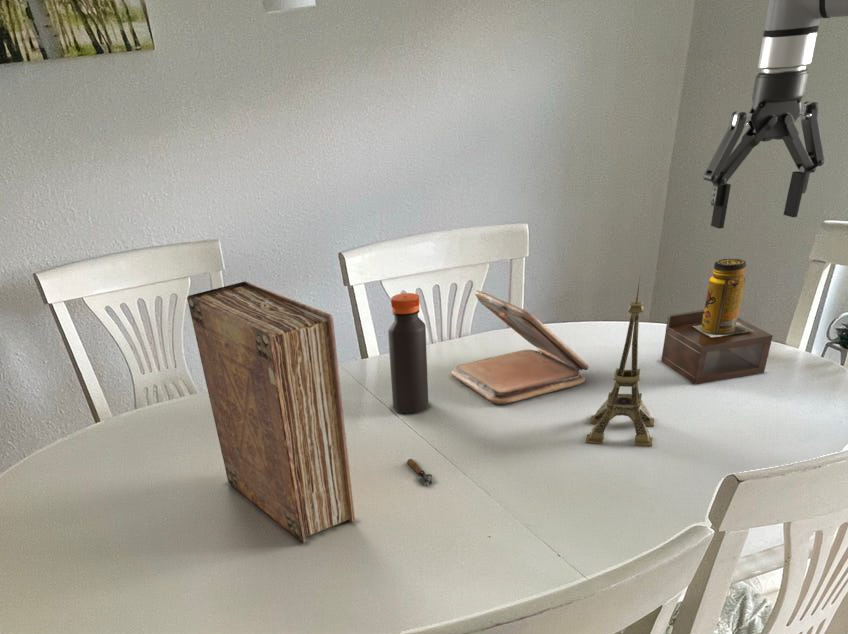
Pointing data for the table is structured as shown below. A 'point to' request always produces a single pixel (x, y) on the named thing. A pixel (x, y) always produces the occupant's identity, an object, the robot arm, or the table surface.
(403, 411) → the vinegar
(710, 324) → the condiment
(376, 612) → the table surface
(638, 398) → the eiffel tower
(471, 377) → the case
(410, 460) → the can opener
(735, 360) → the box
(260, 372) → the book
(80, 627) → the table surface
